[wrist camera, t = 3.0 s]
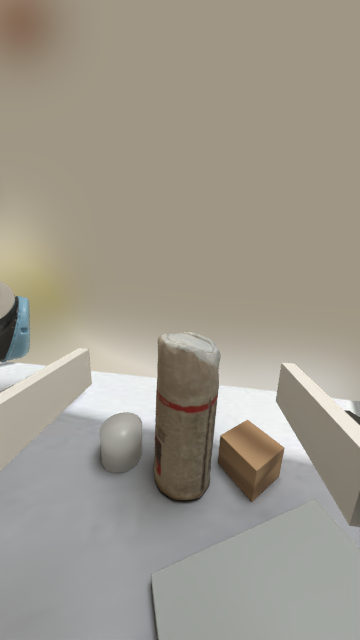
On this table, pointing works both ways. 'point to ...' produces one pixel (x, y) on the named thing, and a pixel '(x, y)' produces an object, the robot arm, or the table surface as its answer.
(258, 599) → the slate board
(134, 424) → the white rounded cylinder
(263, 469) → the walnut block
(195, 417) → the red-banded paper cylinder
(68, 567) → the table surface
